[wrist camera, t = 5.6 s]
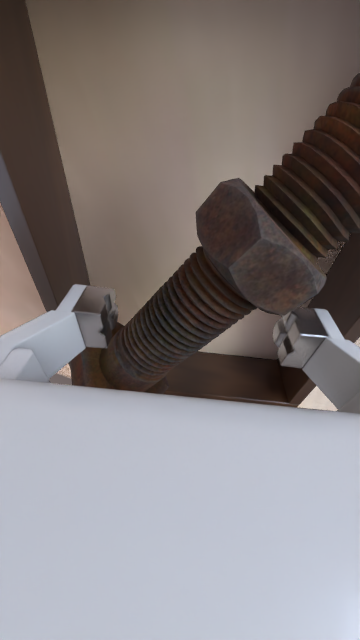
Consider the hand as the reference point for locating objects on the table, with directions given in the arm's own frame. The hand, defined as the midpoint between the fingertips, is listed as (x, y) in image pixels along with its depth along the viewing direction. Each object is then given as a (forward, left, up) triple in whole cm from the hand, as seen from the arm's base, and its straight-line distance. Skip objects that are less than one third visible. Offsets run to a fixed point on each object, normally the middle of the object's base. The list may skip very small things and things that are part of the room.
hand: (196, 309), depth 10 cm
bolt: (0, 0, -3) cm, 3 cm away
